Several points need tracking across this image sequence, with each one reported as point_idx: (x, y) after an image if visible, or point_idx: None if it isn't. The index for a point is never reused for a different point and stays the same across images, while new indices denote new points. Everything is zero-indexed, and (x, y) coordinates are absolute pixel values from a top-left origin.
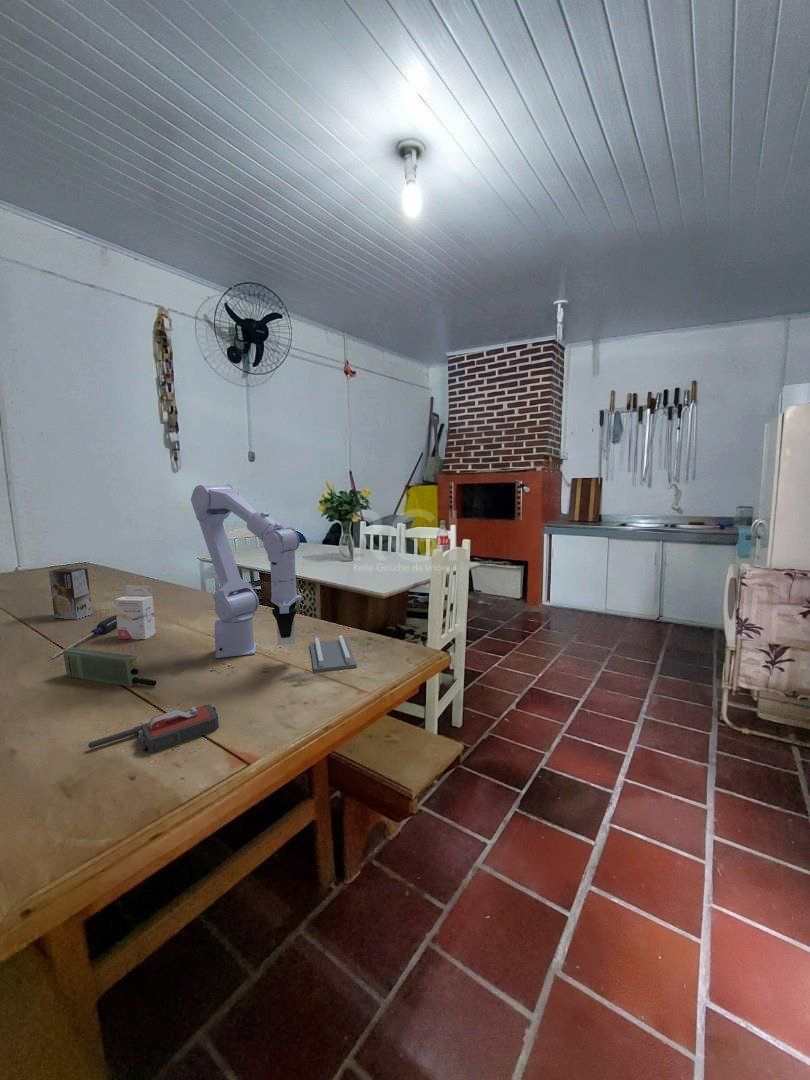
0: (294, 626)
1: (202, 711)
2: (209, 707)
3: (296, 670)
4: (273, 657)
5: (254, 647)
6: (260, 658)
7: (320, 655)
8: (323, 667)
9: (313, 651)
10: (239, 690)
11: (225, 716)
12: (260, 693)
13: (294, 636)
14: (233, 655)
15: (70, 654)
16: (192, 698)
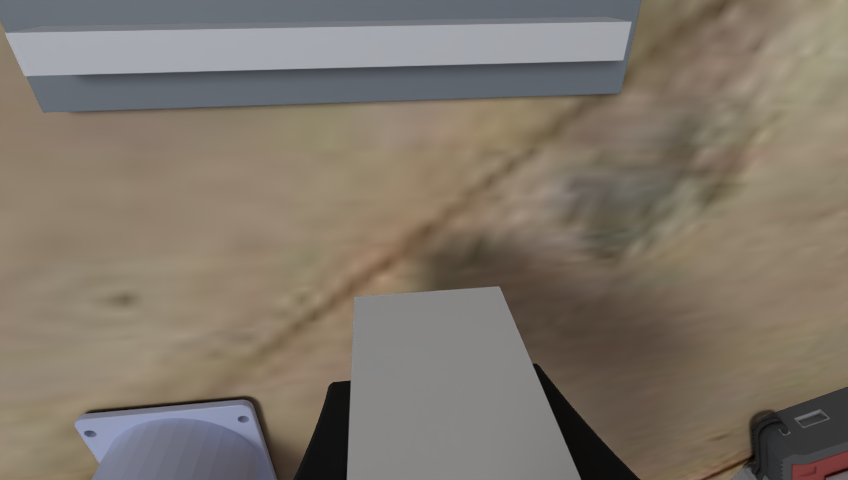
0: (553, 416)
1: (841, 459)
2: (828, 451)
3: (530, 192)
4: (300, 317)
5: (167, 417)
6: (305, 367)
7: (518, 40)
8: (628, 18)
9: (278, 85)
10: (629, 383)
11: (793, 385)
12: (700, 319)
13: (517, 332)
14: (271, 465)
15: None
16: None
